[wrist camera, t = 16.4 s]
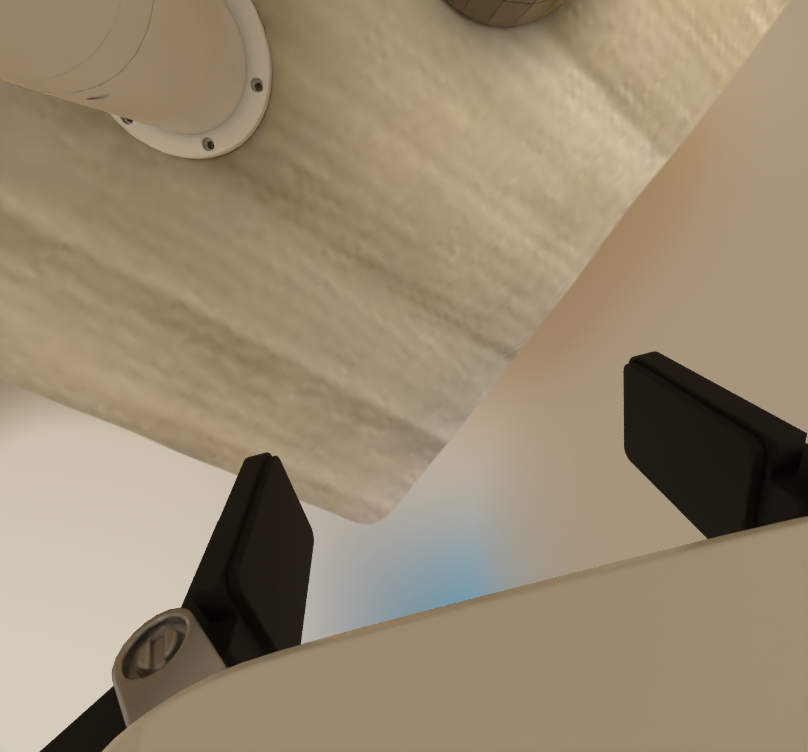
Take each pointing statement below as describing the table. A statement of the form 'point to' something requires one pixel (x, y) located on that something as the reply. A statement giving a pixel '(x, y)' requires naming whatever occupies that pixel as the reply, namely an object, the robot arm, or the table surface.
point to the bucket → (506, 10)
